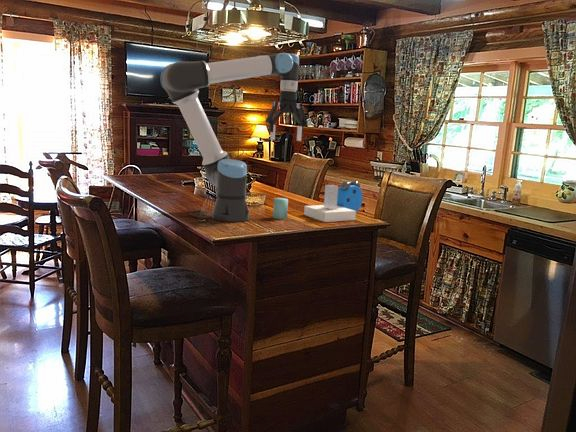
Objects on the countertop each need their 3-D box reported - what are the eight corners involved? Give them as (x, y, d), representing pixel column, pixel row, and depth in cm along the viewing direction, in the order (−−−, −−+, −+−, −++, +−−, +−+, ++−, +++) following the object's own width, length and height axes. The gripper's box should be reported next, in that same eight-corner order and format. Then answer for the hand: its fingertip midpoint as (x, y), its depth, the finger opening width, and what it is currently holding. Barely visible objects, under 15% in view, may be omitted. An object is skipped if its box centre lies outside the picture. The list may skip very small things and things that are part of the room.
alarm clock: (352, 211, 235) (354, 179, 232) (362, 213, 230) (365, 181, 228) (333, 213, 226) (335, 180, 224) (343, 215, 222) (345, 182, 219)
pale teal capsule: (277, 219, 205) (278, 200, 204) (270, 216, 210) (271, 198, 209) (289, 218, 208) (290, 200, 207) (282, 216, 213) (283, 197, 212)
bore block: (324, 222, 205) (325, 212, 205) (304, 214, 219) (304, 205, 218) (355, 220, 213) (356, 210, 213) (333, 213, 227) (334, 204, 226)
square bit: (328, 218, 213) (330, 186, 211) (323, 216, 217) (325, 185, 214) (335, 218, 215) (338, 186, 213) (330, 216, 219) (332, 184, 216)
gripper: (267, 88, 206) (265, 140, 210) (317, 93, 218) (314, 141, 223) (259, 88, 212) (257, 138, 216) (308, 93, 225) (305, 140, 229)
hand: (285, 140), depth 219 cm, fingers open, 13 cm apart
